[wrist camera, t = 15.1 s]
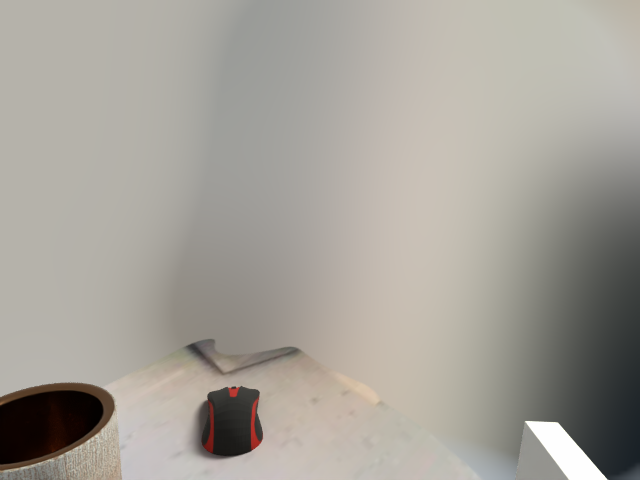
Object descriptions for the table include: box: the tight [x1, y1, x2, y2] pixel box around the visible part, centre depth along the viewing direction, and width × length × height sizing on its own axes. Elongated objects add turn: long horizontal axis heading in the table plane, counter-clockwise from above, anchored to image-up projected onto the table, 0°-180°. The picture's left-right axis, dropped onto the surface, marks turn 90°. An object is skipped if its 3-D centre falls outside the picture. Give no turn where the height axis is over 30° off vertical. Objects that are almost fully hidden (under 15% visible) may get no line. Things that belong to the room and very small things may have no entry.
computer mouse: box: [202, 386, 263, 456], centre depth 48 cm, size 6×11×4 cm, turn 10°
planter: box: [0, 383, 122, 480], centre depth 33 cm, size 11×11×10 cm
